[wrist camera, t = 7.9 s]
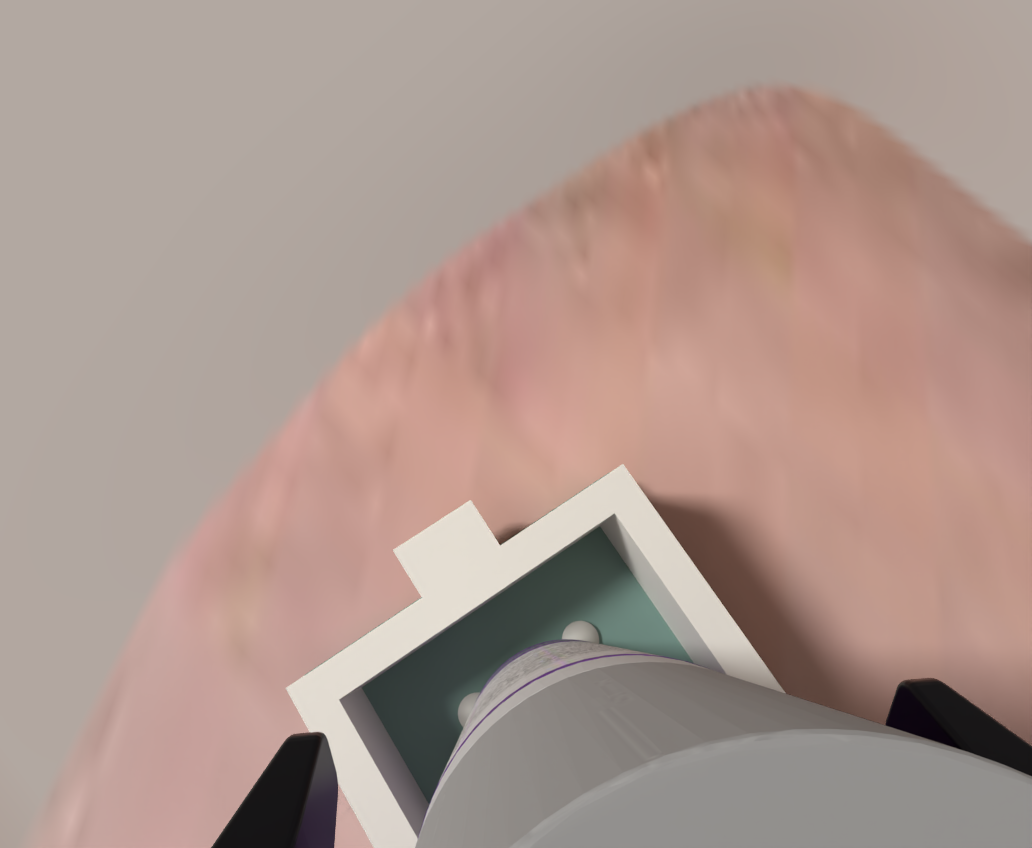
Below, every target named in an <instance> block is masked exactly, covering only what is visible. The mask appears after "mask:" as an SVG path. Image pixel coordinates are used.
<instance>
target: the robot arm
mask: <svg viewBox="0 0 1032 848" xmlns="http://www.w3.org/2000/svg"><path fill="white" fill-rule="evenodd" d="M886 726H888V727H892V728H895V729H898V730H901V731H904V732H907V733H910V734H913V735H917V736H920V737H923V738H926V739H929V740H932V741H935V742H938V743H942V744H945V745H948V746H951V747H954V748H957V749H960V750H963V751H967V752H970V753H973V754H975V755H978V756H981V757H984V758H986V759H989V760H992V761H995V762H998V763H1000V764H1003V765H1006V766H1008V767H1011V768H1013V769H1015V770H1018V771H1020V772H1022V773H1025V774H1027V775H1029V776H1032V746H1031V745H1029V744H1028V743H1027V742H1025V741H1024V740H1023V739H1021V738H1020V737H1018V736H1017V735H1016V734H1014V733H1013V732H1011V731H1010V730H1009V729H1007V728H1006V727H1004V726H1003V725H1002V724H1000V723H999V722H998V721H996V720H995V719H993V718H992V717H991V716H989V715H988V714H986V713H985V712H984V711H982V710H981V709H979V708H978V707H977V706H975V705H974V704H973V703H971V702H970V701H968V700H967V699H966V698H964V697H963V696H961V695H960V694H959V693H957V692H956V691H954V690H953V689H952V688H950V687H949V686H948V685H946V684H945V683H943V682H941V681H939V680H937V679H934V678H922V679H911V680H904V681H902V682H901V683H900V684H899V685H898V687H897V690H896V693H895V696H894V699H893V702H892V705H891V708H890V711H889V714H888V717H887V720H886ZM337 799H338V779H337V772H336V769H335V765H334V761H333V758H332V754H331V750H330V747H329V743H328V739H327V737H326V735H325V734H324V733H322V732H310V733H299V734H293V735H291V736H290V737H288V738H287V739H286V740H285V742H284V743H283V744H282V746H281V747H280V749H279V750H278V752H277V753H276V754H275V756H274V757H273V759H272V760H271V762H270V763H269V765H268V766H267V768H266V769H265V770H264V772H263V773H262V775H261V776H260V778H259V779H258V781H257V782H256V783H255V785H254V786H253V788H252V789H251V791H250V792H249V794H248V795H247V797H246V798H245V799H244V801H243V802H242V804H241V805H240V807H239V808H238V810H237V811H236V813H235V814H234V815H233V817H232V818H231V820H230V821H229V823H228V824H227V826H226V827H225V829H224V830H223V831H222V833H221V834H220V836H219V837H218V839H217V840H216V842H215V843H214V844H213V846H212V847H211V848H334V841H335V827H336V813H337Z"/></svg>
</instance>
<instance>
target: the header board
mask: <svg viewBox="0 0 1032 848" xmlns="http://www.w3.org/2000/svg"><path fill="white" fill-rule="evenodd" d="M393 551H394V553H395V555H396V556H397V558H398V559H399V561H400V563H401V564H402V566H403V568H404V569H405V571H406V572H407V574H408V576H409V577H410V579H411V581H412V582H413V584H414V586H415V587H416V589H417V590H418V592H419V594H420V595H421V598H420V599H418V600H417V601H415V602H414V603H412V604H411V605H409V606H408V607H406V608H405V609H403V610H402V611H400V612H399V613H397V614H396V615H394V616H393V617H391V618H390V619H388V620H387V621H385V622H384V623H382V624H381V625H379V626H378V627H376V628H375V629H373V630H372V631H370V632H369V633H367V634H366V635H364V636H363V637H361V638H360V639H358V640H357V641H355V642H354V643H352V644H351V645H349V646H348V647H346V648H345V649H343V650H342V651H340V652H339V653H337V654H336V655H334V656H333V657H331V658H330V659H328V660H327V661H325V662H324V663H322V664H320V665H319V666H317V667H316V668H314V669H313V670H311V671H310V672H308V673H307V674H305V675H304V676H303V677H302V678H300V679H299V680H297V681H296V682H294V683H293V684H291V685H290V686H288V687H287V688H286V690H287V692H288V694H289V695H290V697H291V699H292V701H293V703H294V704H295V706H296V708H297V710H298V712H299V713H300V715H301V717H302V719H303V721H304V722H305V724H306V726H307V728H308V730H309V731H310V732H322V733H324V734H325V735H326V737H327V739H328V743H329V747H330V750H331V754H332V758H333V761H334V765H335V769H336V772H337V779H338V784H339V786H340V787H341V789H342V791H343V793H344V795H345V796H346V798H347V800H348V802H349V804H350V805H351V807H352V809H353V811H354V813H355V815H356V816H357V818H358V820H359V822H360V824H361V825H362V827H363V829H364V831H365V833H366V834H367V836H368V838H369V840H370V842H371V843H372V845H373V847H374V848H415V846H416V843H417V840H418V836H419V833H420V830H421V827H422V823H423V820H424V817H425V814H426V811H427V809H428V806H429V804H430V801H431V799H432V796H433V794H434V791H435V789H436V787H437V785H438V783H439V780H440V778H441V776H442V774H443V772H444V770H445V767H446V765H447V763H448V761H449V759H450V756H451V754H452V752H453V750H454V748H455V746H456V743H457V741H458V739H459V737H460V735H461V732H462V730H463V728H464V726H465V724H466V722H467V719H468V717H469V715H470V713H471V711H472V708H473V706H474V704H475V702H476V700H477V698H478V696H479V694H480V692H481V690H482V689H483V687H484V685H485V684H486V682H487V681H488V680H489V678H490V677H491V676H492V675H493V673H494V672H495V671H496V670H497V669H498V668H499V667H500V666H501V665H502V664H503V663H505V662H506V661H507V660H508V659H509V658H511V657H512V656H514V655H515V654H517V653H518V652H520V651H522V650H524V649H526V648H528V647H531V646H533V645H536V644H539V643H542V642H547V641H552V640H561V639H573V640H582V641H587V642H592V643H597V644H603V645H608V646H613V647H618V648H623V649H628V650H633V651H639V652H644V653H649V654H654V655H659V656H664V657H669V658H674V659H678V660H683V661H687V662H691V663H694V664H697V665H700V666H703V667H706V668H709V669H711V670H714V671H717V672H720V673H723V674H726V675H729V676H732V677H735V678H738V679H742V680H745V681H748V682H751V683H754V684H757V685H760V686H763V687H767V688H770V689H773V690H776V691H779V692H782V693H785V692H784V690H783V689H782V687H781V686H780V685H779V683H778V682H777V680H776V679H775V678H774V676H773V675H772V673H771V672H770V670H769V669H768V668H767V666H766V665H765V663H764V662H763V661H762V659H761V658H760V656H759V655H758V654H757V652H756V651H755V649H754V648H753V646H752V645H751V644H750V642H749V641H748V639H747V638H746V637H745V635H744V634H743V632H742V631H741V630H740V628H739V627H738V625H737V624H736V623H735V621H734V620H733V618H732V617H731V615H730V614H729V613H728V611H727V610H726V608H725V607H724V606H723V604H722V603H721V601H720V600H719V599H718V597H717V596H716V594H715V593H714V592H713V590H712V589H711V587H710V586H709V584H708V583H707V582H706V580H705V579H704V577H703V576H702V575H701V573H700V572H699V570H698V569H697V568H696V566H695V565H694V563H693V562H692V560H691V559H690V558H689V556H688V555H687V553H686V552H685V551H684V549H683V548H682V546H681V545H680V544H679V542H678V541H677V539H676V538H675V537H674V535H673V534H672V532H671V531H670V529H669V528H668V527H667V525H666V524H665V522H664V521H663V520H662V518H661V517H660V515H659V514H658V513H657V511H656V510H655V508H654V507H653V506H652V504H651V503H650V501H649V500H648V498H647V497H646V496H645V494H644V493H643V491H642V490H641V489H640V487H639V486H638V484H637V483H636V482H635V480H634V479H633V477H632V476H631V475H630V473H629V472H628V470H627V469H626V467H625V466H624V465H623V464H622V465H621V466H619V467H618V468H616V469H615V470H613V471H612V472H610V473H608V474H606V475H605V476H603V477H602V478H600V479H599V480H597V481H596V482H594V483H593V484H591V485H590V486H588V487H587V488H585V489H584V490H582V491H581V492H579V493H578V494H576V495H575V496H573V497H572V498H570V499H569V500H567V501H566V502H564V503H563V504H561V505H560V506H558V507H557V508H555V509H554V510H552V511H551V512H549V513H548V514H546V515H545V516H543V517H542V518H540V519H539V520H537V521H536V522H534V523H533V524H531V525H530V526H528V527H527V528H525V529H524V530H522V531H521V532H519V533H518V534H516V535H515V536H513V537H511V538H510V539H508V540H507V541H505V542H504V543H502V544H501V545H500V544H499V543H498V541H497V540H496V538H495V537H494V535H493V534H492V532H491V531H490V529H489V527H488V526H487V524H486V523H485V521H484V520H483V518H482V517H481V515H480V514H479V512H478V511H477V509H476V507H475V506H474V504H473V503H472V501H471V500H469V501H468V502H466V503H465V504H463V505H462V506H460V507H459V508H457V509H456V510H454V511H453V512H451V513H449V514H448V515H446V516H445V517H443V518H442V519H440V520H439V521H437V522H436V523H434V524H432V525H431V526H429V527H428V528H426V529H425V530H423V531H422V532H420V533H419V534H417V535H416V536H414V537H412V538H411V539H409V540H408V541H406V542H405V543H403V544H402V545H400V546H399V547H397V548H395V549H394V550H393ZM785 694H786V693H785Z"/></svg>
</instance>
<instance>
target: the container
mask: <svg viewBox="0 0 1032 848" xmlns="http://www.w3.org/2000/svg"><path fill="white" fill-rule="evenodd" d="M415 848H1032V776H1029V775H1027V774H1025V773H1022V772H1020V771H1018V770H1015V769H1013V768H1011V767H1008V766H1006V765H1003V764H1000V763H998V762H995V761H992V760H989V759H986V758H984V757H981V756H978V755H975V754H973V753H970V752H967V751H963V750H960V749H957V748H954V747H951V746H948V745H945V744H942V743H938V742H935V741H932V740H929V739H926V738H923V737H920V736H917V735H913V734H910V733H907V732H904V731H901V730H898V729H895V728H892V727H888V726H885V725H882V724H879V723H876V722H873V721H870V720H867V719H863V718H860V717H857V716H854V715H851V714H848V713H845V712H842V711H838V710H835V709H832V708H829V707H826V706H823V705H820V704H817V703H813V702H810V701H807V700H804V699H801V698H798V697H795V696H792V695H788V694H785V693H782V692H779V691H776V690H773V689H770V688H767V687H763V686H760V685H757V684H754V683H751V682H748V681H745V680H742V679H738V678H735V677H732V676H729V675H726V674H723V673H720V672H717V671H714V670H711V669H709V668H706V667H703V666H700V665H697V664H694V663H691V662H687V661H683V660H678V659H674V658H669V657H664V656H659V655H654V654H649V653H644V652H639V651H633V650H628V649H623V648H618V647H613V646H608V645H603V644H597V643H592V642H587V641H582V640H573V639H561V640H552V641H547V642H542V643H539V644H536V645H533V646H531V647H528V648H526V649H524V650H522V651H520V652H518V653H517V654H515V655H514V656H512V657H511V658H509V659H508V660H507V661H506V662H505V663H503V664H502V665H501V666H500V667H499V668H498V669H497V670H496V671H495V672H494V673H493V675H492V676H491V677H490V678H489V680H488V681H487V682H486V684H485V685H484V687H483V689H482V690H481V692H480V694H479V696H478V698H477V700H476V702H475V704H474V706H473V708H472V711H471V713H470V715H469V717H468V719H467V722H466V724H465V726H464V728H463V730H462V732H461V735H460V737H459V739H458V741H457V743H456V746H455V748H454V750H453V752H452V754H451V756H450V759H449V761H448V763H447V765H446V767H445V770H444V772H443V774H442V776H441V778H440V780H439V783H438V785H437V787H436V789H435V791H434V794H433V796H432V799H431V801H430V804H429V806H428V809H427V811H426V814H425V817H424V820H423V823H422V827H421V830H420V833H419V836H418V840H417V843H416V846H415Z"/></svg>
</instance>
